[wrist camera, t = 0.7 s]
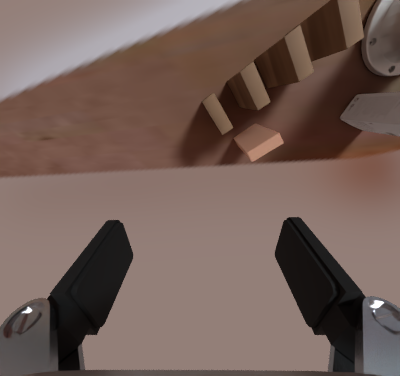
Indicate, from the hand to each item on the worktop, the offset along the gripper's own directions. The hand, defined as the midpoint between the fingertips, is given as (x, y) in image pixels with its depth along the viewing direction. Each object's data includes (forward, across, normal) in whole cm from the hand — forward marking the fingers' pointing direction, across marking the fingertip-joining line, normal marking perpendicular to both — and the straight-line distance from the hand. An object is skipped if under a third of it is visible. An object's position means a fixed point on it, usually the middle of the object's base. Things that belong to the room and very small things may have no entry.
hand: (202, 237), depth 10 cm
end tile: (+24, -8, -1) cm, 26 cm away
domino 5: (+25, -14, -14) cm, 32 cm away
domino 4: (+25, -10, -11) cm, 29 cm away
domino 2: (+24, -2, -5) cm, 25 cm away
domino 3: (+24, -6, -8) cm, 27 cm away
